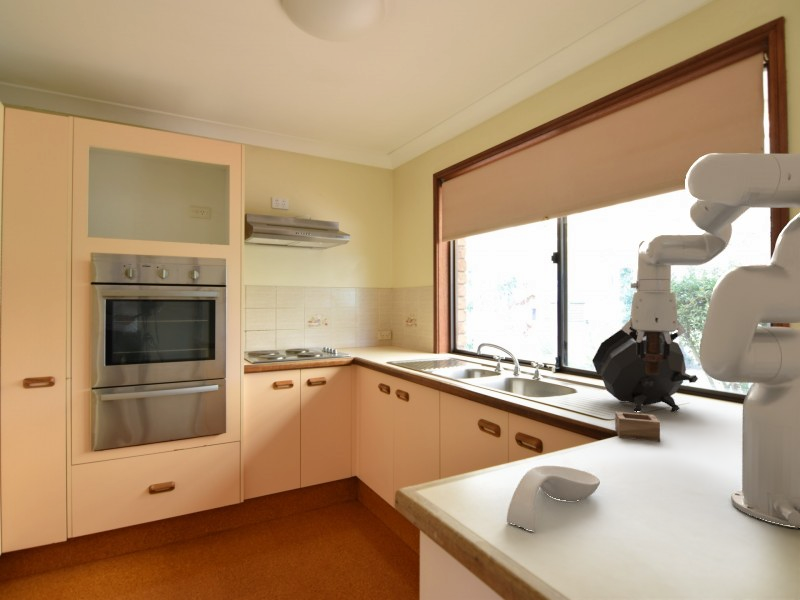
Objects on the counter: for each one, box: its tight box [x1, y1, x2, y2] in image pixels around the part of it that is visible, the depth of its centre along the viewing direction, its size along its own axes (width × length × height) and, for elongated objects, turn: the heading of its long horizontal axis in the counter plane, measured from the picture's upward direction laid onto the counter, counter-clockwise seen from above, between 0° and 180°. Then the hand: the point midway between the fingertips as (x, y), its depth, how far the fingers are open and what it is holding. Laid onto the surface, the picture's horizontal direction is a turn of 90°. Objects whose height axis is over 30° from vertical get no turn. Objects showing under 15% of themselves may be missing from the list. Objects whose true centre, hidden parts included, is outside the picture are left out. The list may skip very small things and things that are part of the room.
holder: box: [614, 411, 661, 443], centre depth 121 cm, size 8×10×5 cm
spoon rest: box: [506, 465, 600, 532], centre depth 79 cm, size 24×12×7 cm, turn 139°
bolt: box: [642, 318, 664, 375], centre depth 115 cm, size 6×5×15 cm
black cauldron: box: [592, 326, 699, 413], centre depth 153 cm, size 28×28×24 cm
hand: (652, 357), depth 115 cm, fingers closed on bolt, 4 cm apart
